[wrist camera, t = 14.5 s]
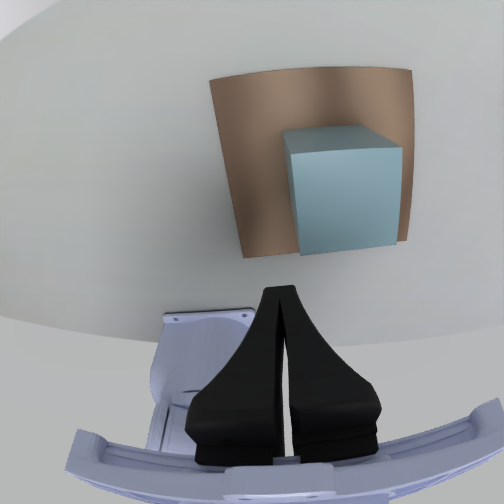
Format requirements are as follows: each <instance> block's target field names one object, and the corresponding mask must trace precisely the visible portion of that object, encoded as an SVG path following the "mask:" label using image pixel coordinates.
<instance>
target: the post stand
mask: <svg viewBox="0 0 504 504" xmlns="http://www.w3.org/2000/svg"><path fill="white" fill-rule="evenodd" d="M209 82H210V87H211V93H212V98H213V104H214V109H215V114H216V120H217V125H218V130H219V135H220V141H221V146H222V151H223V156H224V161H225V167H226V172H227V177H228V182H229V187H230V192H231V197H232V202H233V208H234V213H235V218H236V223H237V228H238V233H239V238H240V243H241V248H242V253H243V258H250V257H259V256H269V255H278V254H288V253H297V252H300V250H299V244H298V239H297V233H296V228H295V223H294V218H293V213H292V208H291V200H290V191H289V183H288V174H287V166H286V158H285V150H284V142H283V135H282V131H283V130H292V129H302V128H314V127H327V126H345V125H363V126H365V127H367V128H369V129H371V130H373V131H375V132H376V133H378V134H380V135H382V136H384V137H385V138H387V139H389V140H391V141H392V142H394V143H396V144H397V145H399V146H401V147H402V183H401V200H400V213H399V224H398V234H397V242H398V241H407V234H408V226H409V218H410V208H411V198H412V185H413V169H414V96H413V80H412V70H403V69H390V68H372V67H319V68H300V69H287V70H277V71H268V72H259V73H252V74H245V75H238V76H232V77H226V78H221V79H215V80H210V81H209Z"/></svg>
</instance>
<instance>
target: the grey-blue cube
mask: <svg viewBox="0 0 504 504" xmlns="http://www.w3.org/2000/svg"><path fill="white" fill-rule="evenodd" d="M282 135H283V142H284V150H285V158H286V166H287V174H288V183H289V191H290V200H291V208H292V213H293V218H294V223H295V228H296V233H297V239H298V244H299V250H300V255H301V256H302V255H310V254H319V253H328V252H337V251H345V250H354V249H363V248H371V247H380V246H388V245H396V243H397V234H398V224H399V213H400V200H401V183H402V147H401V146H399V145H397V144H396V143H394V142H392V141H391V140H389V139H387V138H385V137H384V136H382V135H380V134H378V133H376V132H375V131H373V130H371V129H369V128H367V127H365V126H363V125H345V126H327V127H314V128H302V129H292V130H283V131H282Z"/></svg>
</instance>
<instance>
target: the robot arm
mask: <svg viewBox="0 0 504 504" xmlns="http://www.w3.org/2000/svg"><path fill="white" fill-rule="evenodd" d="M244 314H246V315H244ZM163 321H164V323H165V325H164V328H163V331H162V334H161V337H160V340H159V343H158V347H157V350H156V353H155V356H154V359H153V363H152V366H151V371H150V388H151V393H152V396H153V399H154V401H155V403H156V406H155V409H154V413H153V416H152V420H151V425H150V429H149V433H148V438H147V444H146V449H141V448H136V447H131V446H126V445H121V444H116V443H112V442H108V441H107V440H106V439H105V438H103V437H102V436H100V435H98V434H95V433H91V432H88V431H84V430H81V429H78V430H77V432H76V435H75V438H74V441H73V444H72V447H71V450H70V453H69V457H68V460H67V464H66V467H65V471H66V472H67V473H69V474H70V475H73V476H74V477H76V478H78V479H80V480H82V481H84V482H86V483H88V484H90V485H92V486H95V487H97V488H100V489H103V490H106V491H109V492H112V493H116V494H119V495H122V496H125V497H129V498H132V499H136V500H140V501H144V502H147V503H151V504H389V500H392V499H395V498H398V497H402V496H405V495H408V494H411V493H414V492H417V491H420V490H423V489H426V488H428V487H431V486H433V485H436V484H438V483H441V482H444V481H446V480H448V479H451V478H453V477H455V476H457V475H460V474H462V473H464V472H466V471H468V470H471V469H472V468H475V467H477V466H479V465H481V464H483V463H485V462H487V461H488V460H490V459H491V458H493V457H494V456H496V455H497V454H498V453H500V452H501V451H502V450H504V411H503V409H502V406H501V403H500V401H499V399H498V398H495V399H493V400H491V401H489V402H487V403H484V404H482V405H480V406H478V407H477V408H475V409H474V410H473V411H472V412H471V414H470V415H469V416H467V417H464V418H462V419H459V420H457V421H454V422H451V423H449V424H446V425H443V426H440V427H438V428H434V429H431V430H428V431H425V432H422V433H418V434H415V435H411V436H408V437H404V438H400V439H396V440H393V441H388V442H384V443H380V444H378V442H377V436H376V433H377V426H376V421H377V419H378V417H379V415H380V413H381V410H382V408H381V404H380V401H379V398H378V396H377V394H376V392H375V390H374V388H373V386H372V385H371V383H369V382H368V381H366V380H365V379H364V378H363V377H361V376H360V375H359V374H358V373H356V372H355V371H354V370H353V369H352V368H351V367H350V366H348V365H347V364H346V363H345V362H344V361H343V360H342V359H341V358H340V357H339V356H338V355H337V354H336V353H335V352H334V350H333V349H332V348H331V347H330V346H329V345H328V343H327V342H326V341H325V340H324V338H323V337H322V336H321V334H320V333H319V332H318V330H317V329H316V327H315V326H314V324H313V323H312V321H311V320H310V318H309V316H308V314H307V313H306V311H305V309H304V307H303V305H302V303H301V301H300V299H299V297H298V294H297V291H296V288H295V286H294V285H286V286H276V287H266V288H265V289H264V290H263V295H262V298H261V302H260V304H259V307H258V310H257V312H256V314H255V311H254V310H252V309H244V310H230V311H216V312H199V313H180V314H165V315H164V316H163ZM284 339H285V345H286V350H287V356H288V375H289V408H290V416H291V425H292V444H293V451H294V456H288V457H285V444H284V421H283V420H284V419H283V396H282V372H283V353H284Z"/></svg>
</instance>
